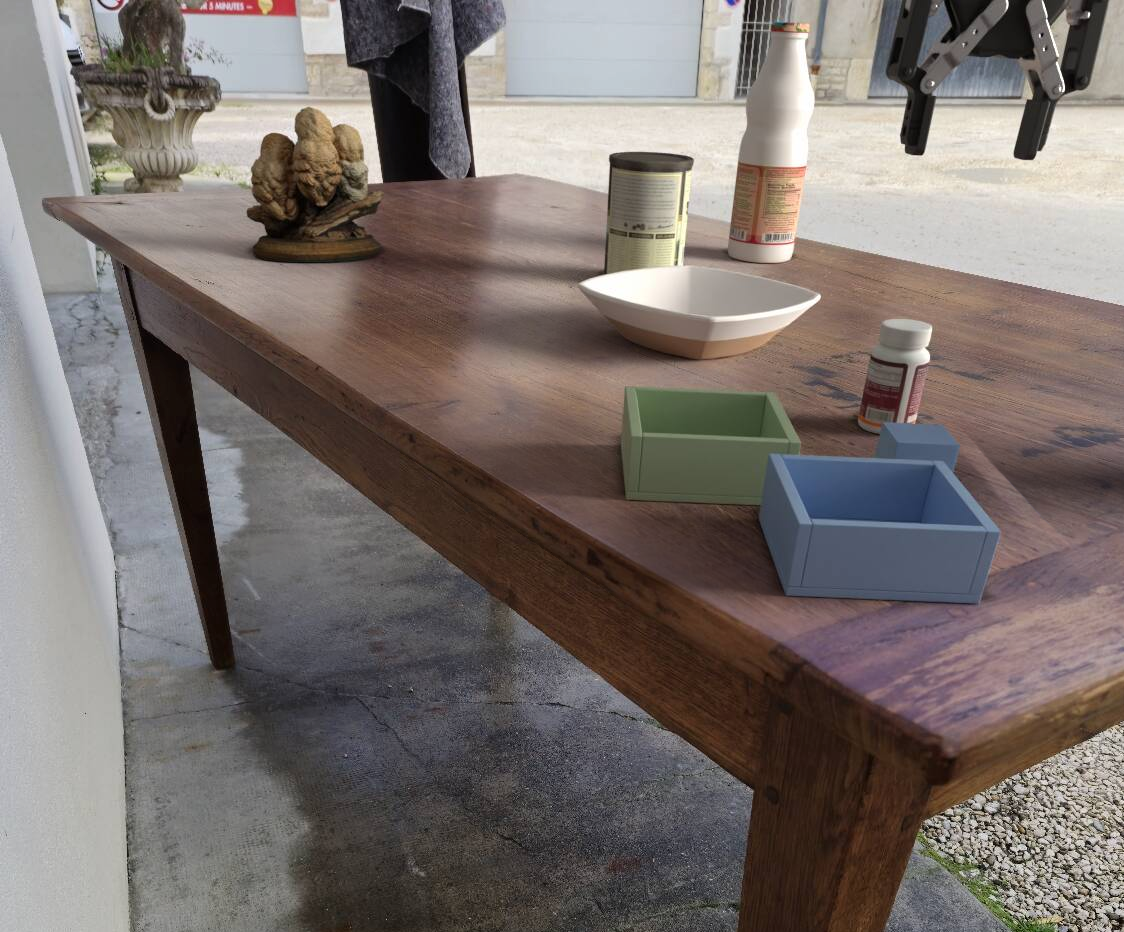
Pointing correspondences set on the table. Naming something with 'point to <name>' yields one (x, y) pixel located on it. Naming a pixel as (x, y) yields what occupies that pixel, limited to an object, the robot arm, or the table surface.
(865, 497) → the blue bin
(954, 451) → the blue block
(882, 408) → the pill bottle
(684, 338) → the bowl
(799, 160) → the fruit juice
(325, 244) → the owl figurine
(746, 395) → the green bin
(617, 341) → the table surface
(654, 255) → the coffee can
